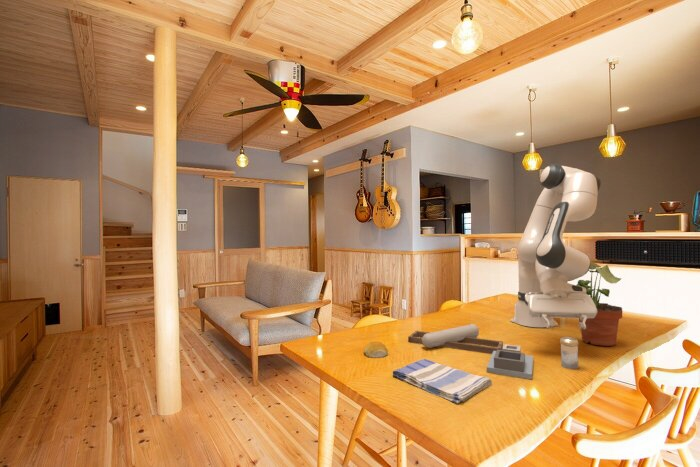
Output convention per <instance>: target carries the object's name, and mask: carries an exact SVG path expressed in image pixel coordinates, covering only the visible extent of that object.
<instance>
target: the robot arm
mask: <svg viewBox="0 0 700 467" xmlns="http://www.w3.org/2000/svg"><path fill="white" fill-rule="evenodd" d="M539 183H540V185H541V187H543V189H542V191H541V193H540V195H539V196H538V198H537V200H536V202H535V204H534V207H533V210H532V212H531V214H530V217H529V220H528V221H527V224H526V226H525V229H524V232H523V234H522V236H521V239H520V241H519V244H518V246H517V255H518V256H517V257H518V259H517V260H518V265H517V266H518V268H517V269H518V291H517V299H518V301H517V302H516V303H514V316H513V317H511V318H510V319H509V321H510V322H511V323H515V324H518V325H520V326H525V327H529V328H547V329H554V328H553V327H558V326H559V324H558V322H557V321H556V319H554V318H558V319H563V318H564V319H579V318H580V320H581V321H582V320H583V321H582V322H578V327H579V330H581V329H586V325H585V321H586V319H587V318H594V317H595V316H596V314H597V308H596V306H595V304H594V302H593V300H592V298H593V297H592V298H591V297H590V295H587V294H586V292H587V291H586V288H585V287H581V286H577V284H572V283H569V282H571V281H574V280H577V279H579V278H581V277H584V276H585V275H586V274H587V273H588V272H589V270H591V269H590V261H591V259H590V256H588V254H587V253H584V252H582V251H580V250H578V249H576V248H574V247H572V246H571V245H568V244H566V243H565V241H564V240H563V235H564V232H565V230H566V225H567V222H581V221H585V220H587V219H589V218H591V216H593V215H594V214H595V211H596V208H597V204H598V193H599V191H600V189H601V185H602V184H601V183H602V182H601V178H600V177H598V176H597V175H595V174H594V173H591V172H590V171H589V172H588V171H585V170H583V169H579V168H576V167H575V168H574V167H571V166H566V165H561V164H559V163H550V164H548V165H546V166H545V167H544V169H543V170H542V171H541V174H540V178H539Z"/></svg>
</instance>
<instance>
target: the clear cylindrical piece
mask: <svg viewBox="0 0 700 467" xmlns="http://www.w3.org/2000/svg"><path fill="white" fill-rule="evenodd" d="M559 344H560V355H561V356H560V357H561V358H560V360H561V367H563V368H564V369H565V368H566V369H569V370H577V369H579V340H578V339H577V338H575V337H572V336H571V337H570V336H562V337H560V339H559Z"/></svg>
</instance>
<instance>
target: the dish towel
mask: <svg viewBox="0 0 700 467" xmlns="http://www.w3.org/2000/svg"><path fill="white" fill-rule="evenodd" d="M392 376H393V377H395V378H398V379H400V380H402V381H404V382H407V383H408V384H409V385H412V386H414V387H417V388H419V389H422V390H424V391H425V392H428V393H429V394H432V395H434V396H437V397H441V398H443V399H446V400H448V401H450V402H452V403H455V404H459V403H463V402H465V401H467V400H468V399H470V398H471V397H473V396H474V395H476V394H478V393H479V392H480V391H482V390H484V389H486V388H488V387H490V386H492V383H493V381H492V379H491V378H490V377H487V376H481V375H476V374H472V373H470V372H468V371H463V370H461V369H457V368H454V367H451V366H448V365H446V364H440V363H437V362H435V361H432V360H429V359H427V358H424V359H420V360H417V361H415V362H412V363H410V364H406V365H405V366H403V367H401V368H397V369H395V370H392Z"/></svg>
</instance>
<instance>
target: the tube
mask: <svg viewBox="0 0 700 467" xmlns="http://www.w3.org/2000/svg"><path fill="white" fill-rule="evenodd" d="M479 330H480V329H479V328H478V326H477V325H476V324H475V323H470V324H466V325H465V324H464V325H461V326H456V327H451V328H446V329H443V330H437V331H433V332H430V333H427V334H425V335H424V336H423V337H421V338H422V343H423V344H422V345H423V347H427V348H428V349H432V348H435V347H441V345H443V344H444V343H445V342H447V341H450V342H457V343H459V342H458V341H462V340H463V339H464V338H466V337H471V338H478V336H479V335H480V331H479Z"/></svg>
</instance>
